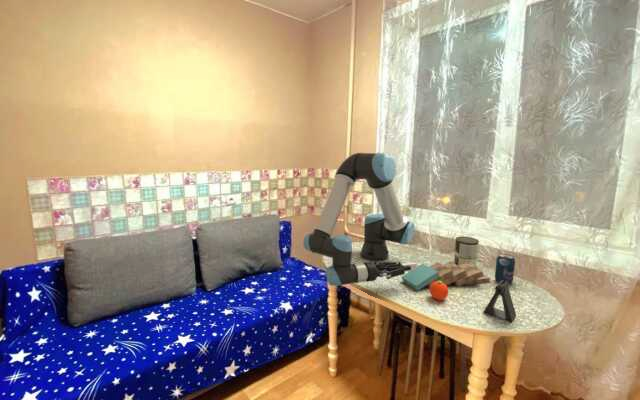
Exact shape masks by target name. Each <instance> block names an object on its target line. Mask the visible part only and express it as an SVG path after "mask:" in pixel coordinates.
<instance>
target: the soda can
mask: <svg viewBox="0 0 640 400" xmlns="http://www.w3.org/2000/svg"><path fill="white" fill-rule="evenodd" d="M515 267H516V260H515V256H514V255H512V254H509V253H508V254H507V253H499V254H498V256H497V258H496V264H495V272H494V279H495V281H496V282H497V283H498V284H499V283H500V281H501V280H504V281H503V282H502V283H501V285H503V284H504V283H505V282H506V281H508V282H509V285H511V284H512V283H513V282H514V275H515Z"/></svg>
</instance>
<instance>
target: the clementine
mask: <svg viewBox="0 0 640 400" xmlns="http://www.w3.org/2000/svg"><path fill="white" fill-rule="evenodd" d="M429 293H430V295H431V297H433V299H435V300H437V301H438V300H439V301H442V300H444V299H446V298H447V296H448V295H449V289H448V285H447V286H446V285H445V284H444V283H443V282H442V281H436V282H434V283H432V284H431V286H430V288H429Z"/></svg>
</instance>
